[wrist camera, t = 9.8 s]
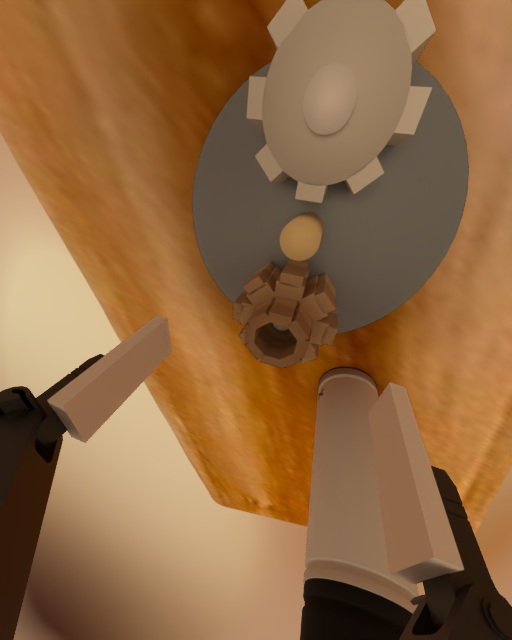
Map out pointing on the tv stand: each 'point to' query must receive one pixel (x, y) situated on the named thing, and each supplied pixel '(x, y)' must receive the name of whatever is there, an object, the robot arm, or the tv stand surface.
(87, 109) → the tv stand surface
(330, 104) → the carrier
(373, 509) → the travel mug
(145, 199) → the tv stand surface
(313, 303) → the oak gear
